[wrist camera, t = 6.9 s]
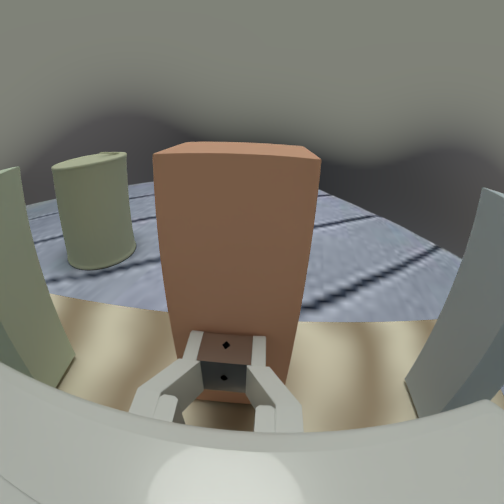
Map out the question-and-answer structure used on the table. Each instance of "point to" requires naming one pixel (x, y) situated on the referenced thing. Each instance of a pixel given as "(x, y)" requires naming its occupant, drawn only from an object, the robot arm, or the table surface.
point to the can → (95, 209)
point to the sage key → (26, 295)
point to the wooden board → (298, 378)
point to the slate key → (467, 324)
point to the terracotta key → (236, 242)
